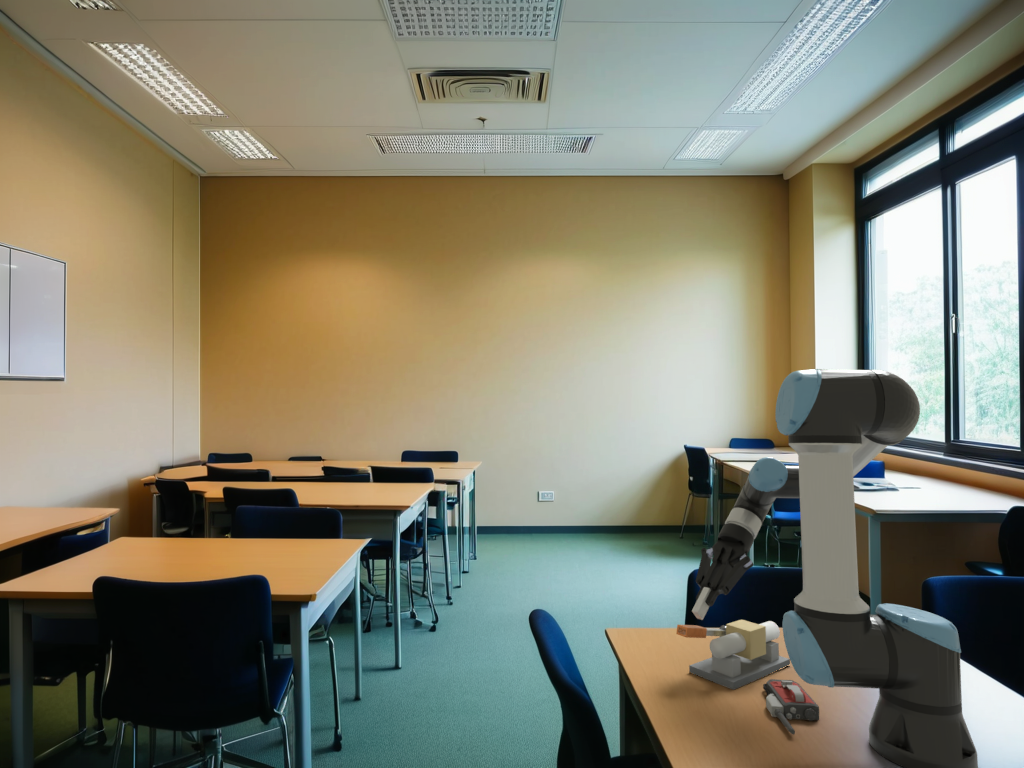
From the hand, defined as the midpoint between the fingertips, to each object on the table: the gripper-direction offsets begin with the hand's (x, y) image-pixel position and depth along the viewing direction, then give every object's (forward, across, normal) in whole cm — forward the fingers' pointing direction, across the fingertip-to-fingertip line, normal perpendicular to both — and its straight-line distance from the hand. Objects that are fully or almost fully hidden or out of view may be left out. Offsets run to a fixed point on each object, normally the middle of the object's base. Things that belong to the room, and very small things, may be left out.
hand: (697, 615), depth 135 cm
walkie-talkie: (+10, -22, -9) cm, 25 cm away
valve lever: (-4, 0, -12) cm, 13 cm away
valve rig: (+2, -4, -16) cm, 17 cm away
